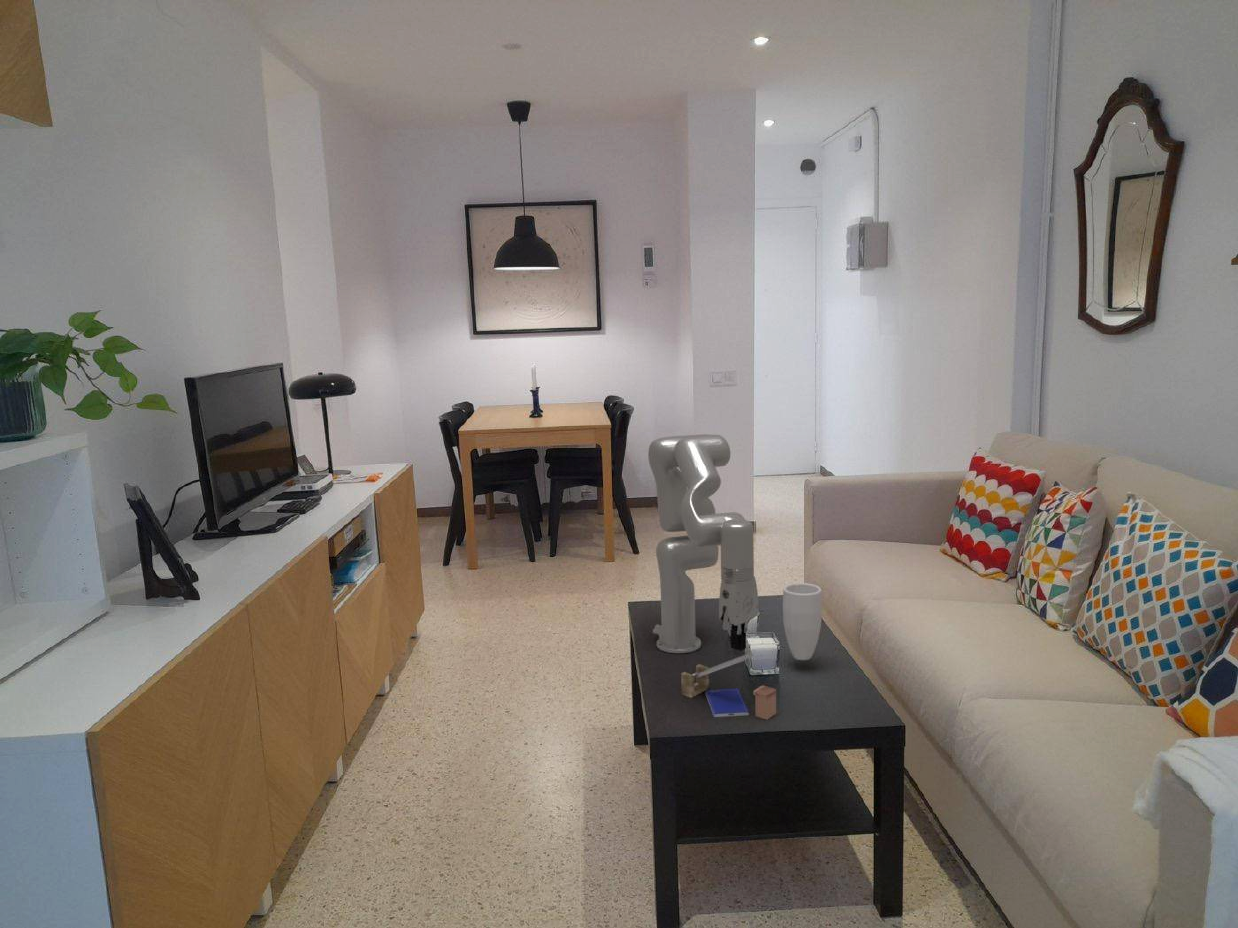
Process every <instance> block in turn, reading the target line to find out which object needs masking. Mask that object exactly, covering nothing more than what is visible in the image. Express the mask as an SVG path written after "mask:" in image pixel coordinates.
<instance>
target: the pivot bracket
mask: <svg viewBox="0 0 1238 928" xmlns="http://www.w3.org/2000/svg"><path fill="white" fill-rule="evenodd" d="M709 668H710V667H709V666H706V665H703V664H700V663H699V664H697V665H696V666H695V673H696V672H698V671H703V670H706V669H709ZM692 674H693V673H692ZM692 674H691V673H689V672H686V671H684V672H682V673H680V679H681V681H680V682H681V685H680V686H681V695H682V696H685V697H688V698H691V699H692V698H694V697H695V696H697V695H699V694H701V693H703V692H706V691H707V690H709V688H710V679H709V678H710V676H709V675H710V673H709V674H706V675H704V676H701V677H699V678H697V679H695V680H694V675H692ZM695 681H696V682H695Z"/></svg>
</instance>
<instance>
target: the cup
mask: <svg viewBox="0 0 1238 928" xmlns="http://www.w3.org/2000/svg"><path fill="white" fill-rule="evenodd" d="M782 591H783V592H782V617H783V618H782V619H783V627H784V628H783V629H784V632H785V638H786V642H787V645H788V647H789V650H790V652H791V655H792V657H793V658H794V659H796V660H799V661H808V660H810V659H811V658H812V657H813V655H814V652H815V650H816V647H817V645H818V641H819V637H820V632H821V628H822V612H823V605H822V603H823V602H822V601H823V600H822V599H823V598H822V588H821V587H820V586H818V585H816V584H813V583H808V582H794V583H790V584H785V586H783V588H782Z"/></svg>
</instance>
